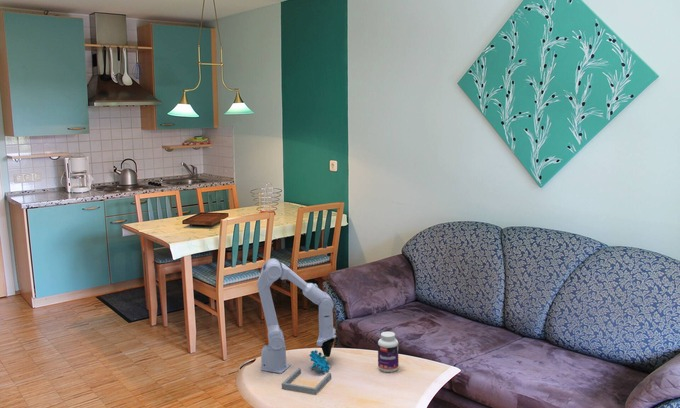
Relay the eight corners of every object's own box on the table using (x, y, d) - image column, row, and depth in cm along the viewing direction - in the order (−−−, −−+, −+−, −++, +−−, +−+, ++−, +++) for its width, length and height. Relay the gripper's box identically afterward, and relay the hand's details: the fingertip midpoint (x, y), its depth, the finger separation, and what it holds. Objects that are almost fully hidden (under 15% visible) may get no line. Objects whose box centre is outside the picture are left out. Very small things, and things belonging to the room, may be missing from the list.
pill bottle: (377, 372, 231) (376, 337, 229) (378, 364, 239) (378, 330, 237) (398, 373, 230) (397, 338, 228) (399, 364, 238) (398, 330, 236)
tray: (281, 388, 221) (281, 383, 220) (298, 372, 233) (298, 368, 233) (316, 394, 215) (315, 389, 215) (331, 378, 228) (331, 373, 228)
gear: (324, 373, 228) (308, 352, 231) (314, 382, 230) (298, 362, 233) (335, 365, 239) (319, 345, 241) (325, 374, 240) (310, 354, 243)
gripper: (327, 331, 231) (329, 364, 233) (342, 319, 244) (343, 350, 246) (311, 329, 233) (312, 362, 236) (326, 317, 247) (327, 348, 249)
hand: (327, 356), depth 241 cm, fingers closed
